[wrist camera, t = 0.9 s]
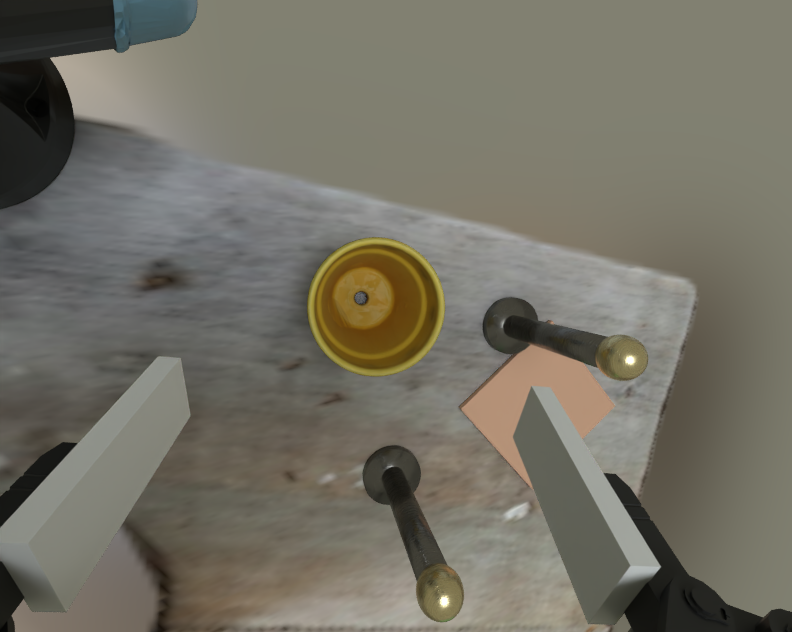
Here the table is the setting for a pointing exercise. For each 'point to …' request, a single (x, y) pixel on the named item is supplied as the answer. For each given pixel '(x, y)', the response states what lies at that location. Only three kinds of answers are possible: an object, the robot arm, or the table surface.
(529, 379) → the terracotta tile
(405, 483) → the iron post
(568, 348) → the iron post
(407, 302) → the plant pot
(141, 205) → the table surface
